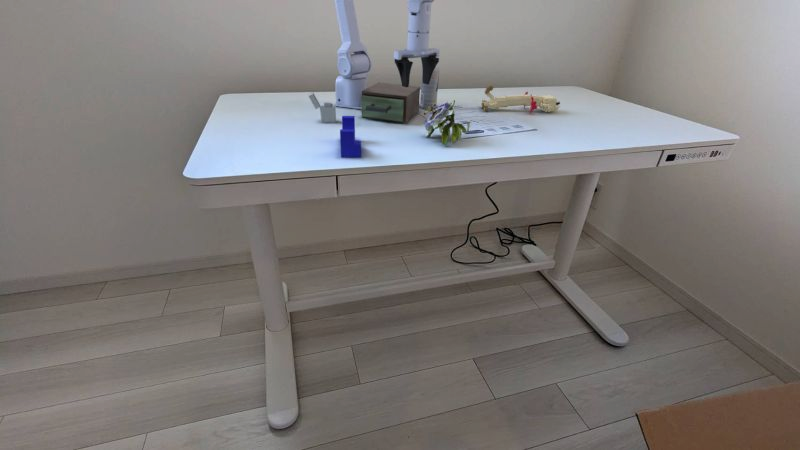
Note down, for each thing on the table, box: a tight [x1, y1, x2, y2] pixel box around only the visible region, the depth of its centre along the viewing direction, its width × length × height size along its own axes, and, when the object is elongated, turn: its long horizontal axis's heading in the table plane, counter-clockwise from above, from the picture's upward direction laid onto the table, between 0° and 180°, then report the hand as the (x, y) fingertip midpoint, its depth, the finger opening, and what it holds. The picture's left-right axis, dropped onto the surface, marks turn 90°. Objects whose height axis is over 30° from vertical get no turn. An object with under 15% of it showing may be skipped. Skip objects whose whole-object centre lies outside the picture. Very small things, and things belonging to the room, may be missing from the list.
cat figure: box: [481, 84, 561, 114], centre depth 127 cm, size 10×9×25 cm
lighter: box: [307, 91, 337, 124], centre depth 109 cm, size 7×2×8 cm, turn 98°
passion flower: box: [423, 99, 471, 147], centre depth 100 cm, size 11×11×12 cm
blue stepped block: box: [339, 115, 362, 158], centre depth 92 cm, size 12×4×6 cm, turn 5°
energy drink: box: [419, 66, 440, 110], centre depth 126 cm, size 5×5×12 cm
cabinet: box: [361, 82, 421, 124], centre depth 117 cm, size 14×14×8 cm
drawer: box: [360, 95, 404, 122], centre depth 114 cm, size 17×12×6 cm
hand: (415, 85), depth 111 cm, fingers open, 7 cm apart
